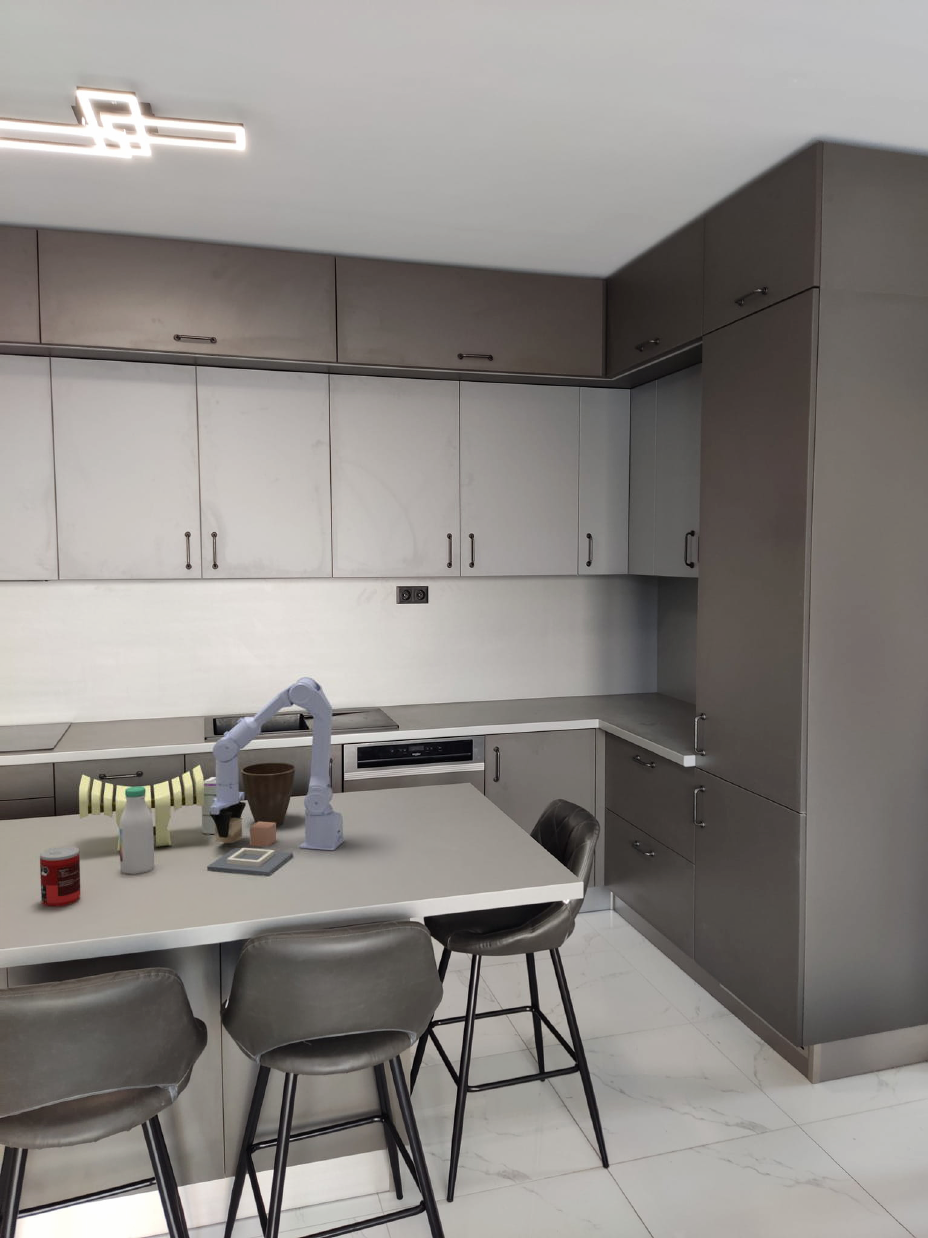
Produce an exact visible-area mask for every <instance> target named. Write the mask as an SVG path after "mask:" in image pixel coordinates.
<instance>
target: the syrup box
mask: <svg viewBox="0 0 928 1238" xmlns="http://www.w3.org/2000/svg"><path fill="white" fill-rule="evenodd" d="M214 798H216V776H214V777H213V776H212V777H209V778H207V779H205V780H204V806H201V830H202V831H201V833H202V834H208V835H209V834H210V835H215V822H214V820H213V819H212V817H211V816H210V811H211V808H210V807H211V806H212V805H213V804H214V802H213V799H214Z"/></svg>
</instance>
